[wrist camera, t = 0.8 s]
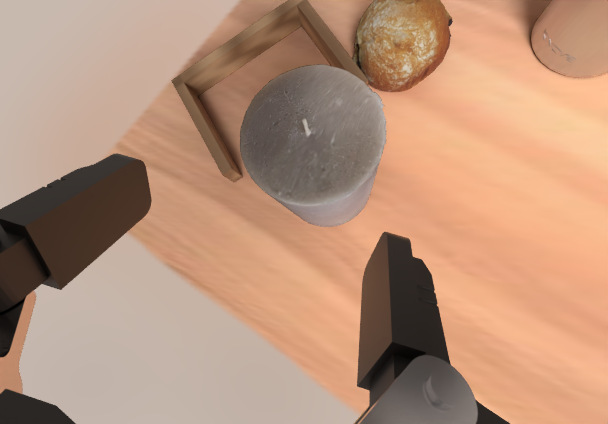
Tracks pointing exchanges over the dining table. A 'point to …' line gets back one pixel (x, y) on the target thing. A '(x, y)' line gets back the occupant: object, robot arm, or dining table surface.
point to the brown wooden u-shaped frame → (242, 52)
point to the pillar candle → (315, 142)
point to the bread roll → (401, 42)
